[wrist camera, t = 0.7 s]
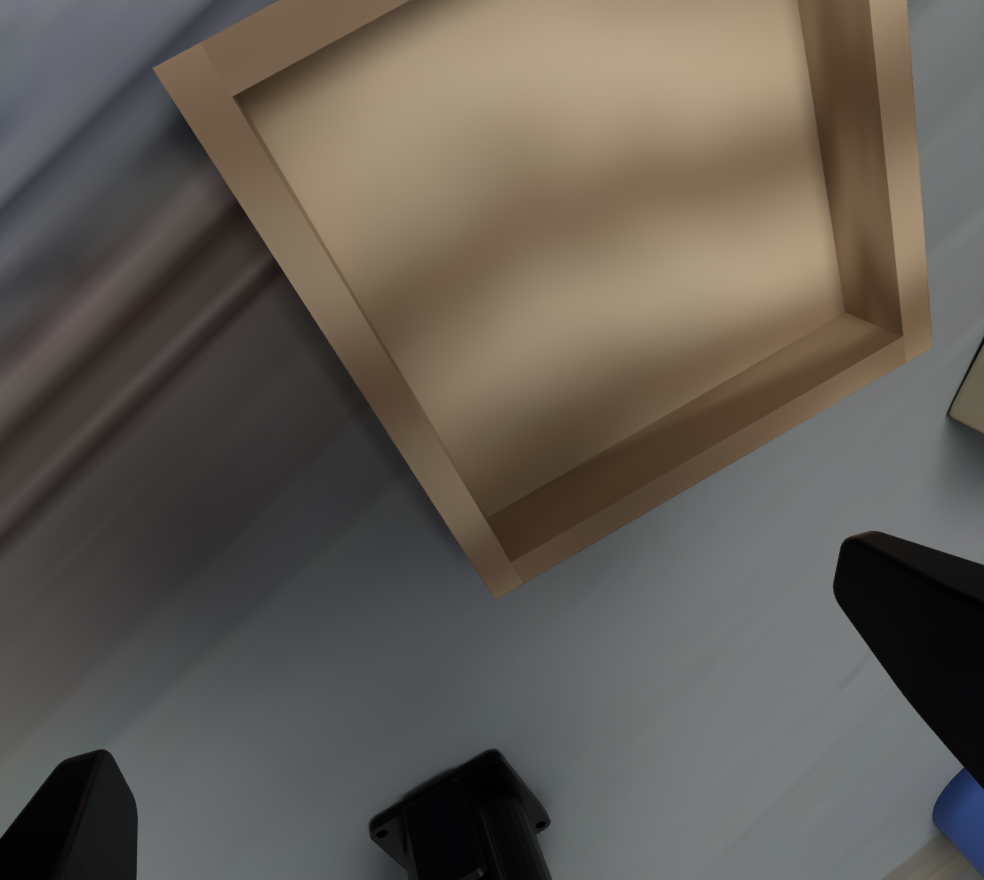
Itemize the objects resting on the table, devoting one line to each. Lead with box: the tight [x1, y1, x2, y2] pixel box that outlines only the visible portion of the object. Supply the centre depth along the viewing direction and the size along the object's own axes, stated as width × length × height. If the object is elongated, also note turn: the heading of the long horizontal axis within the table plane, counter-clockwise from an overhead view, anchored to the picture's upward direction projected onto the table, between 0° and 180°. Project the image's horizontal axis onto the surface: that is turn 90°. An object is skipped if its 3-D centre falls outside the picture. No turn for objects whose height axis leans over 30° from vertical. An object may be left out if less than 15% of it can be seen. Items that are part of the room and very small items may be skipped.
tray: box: [153, 0, 933, 600], centre depth 19 cm, size 16×16×4 cm
